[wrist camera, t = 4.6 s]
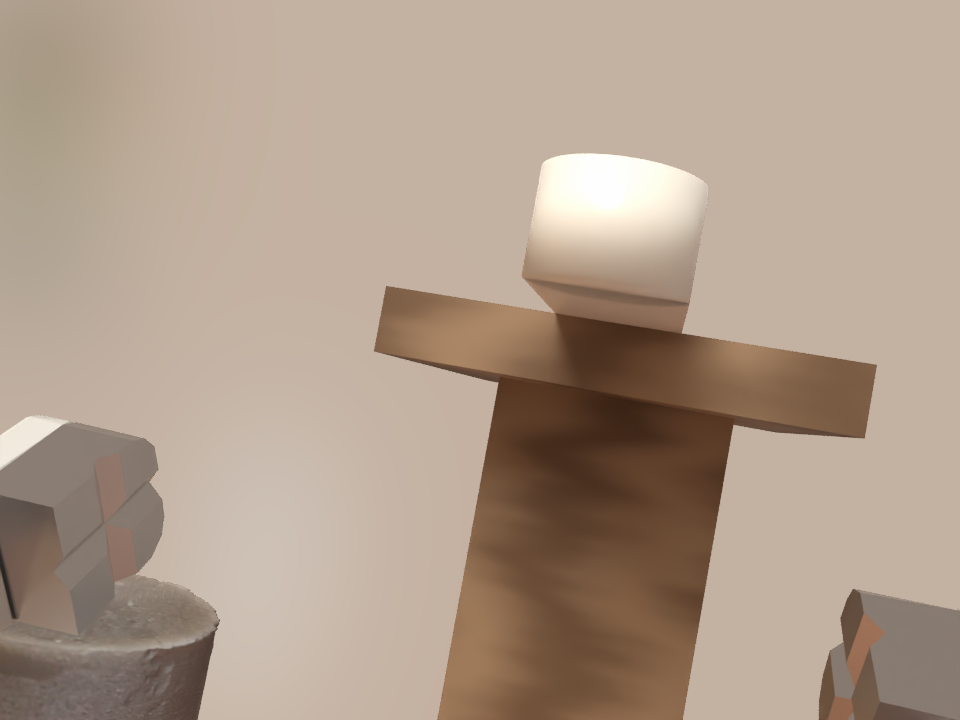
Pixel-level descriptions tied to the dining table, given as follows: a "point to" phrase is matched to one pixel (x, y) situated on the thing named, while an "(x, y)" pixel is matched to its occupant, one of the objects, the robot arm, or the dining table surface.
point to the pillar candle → (113, 660)
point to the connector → (616, 239)
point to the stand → (600, 496)
